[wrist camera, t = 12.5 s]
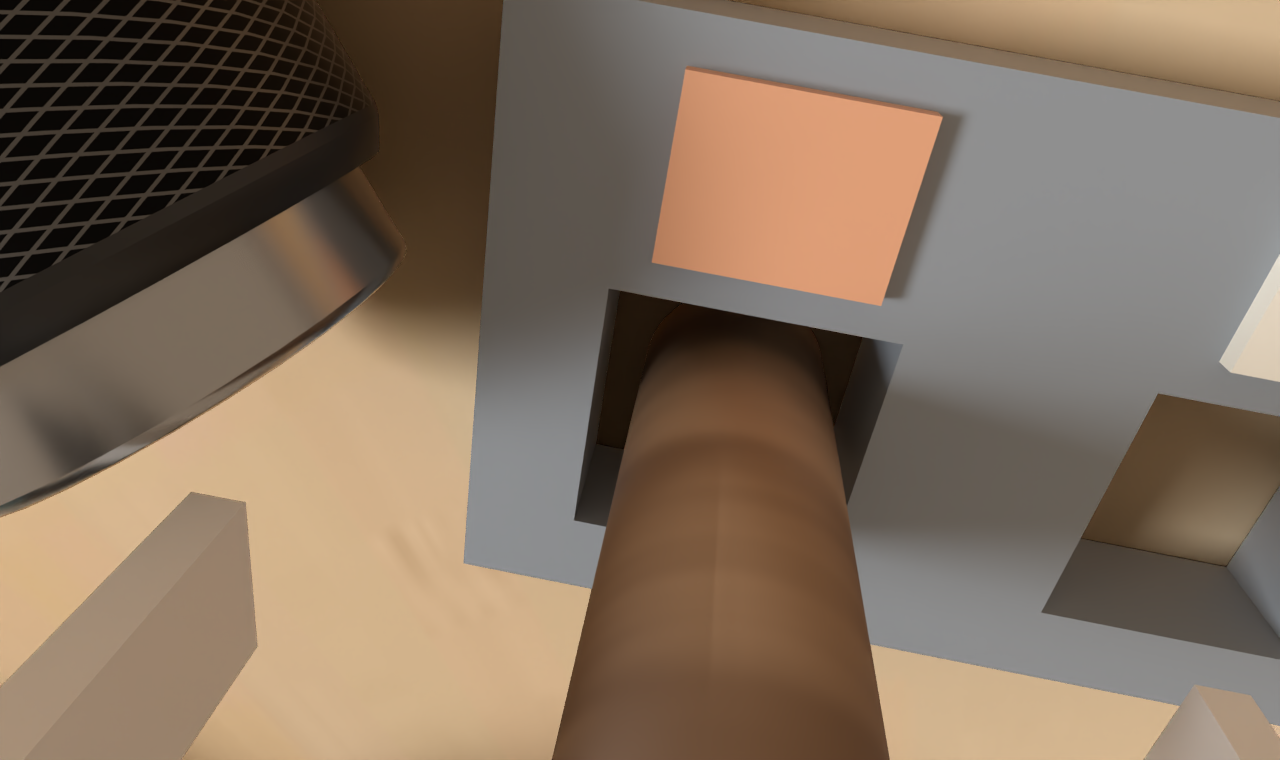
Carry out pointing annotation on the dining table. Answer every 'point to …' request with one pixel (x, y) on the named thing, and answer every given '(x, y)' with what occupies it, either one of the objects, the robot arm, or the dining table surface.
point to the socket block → (896, 310)
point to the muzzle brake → (169, 218)
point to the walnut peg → (726, 564)
